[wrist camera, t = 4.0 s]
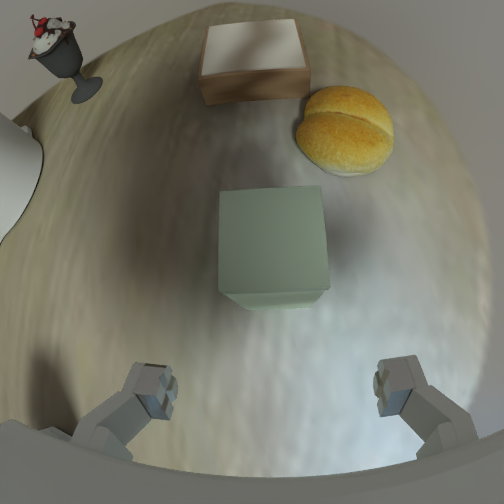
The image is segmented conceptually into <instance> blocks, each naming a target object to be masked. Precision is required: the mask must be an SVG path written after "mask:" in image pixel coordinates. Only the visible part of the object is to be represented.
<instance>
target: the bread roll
mask: <svg viewBox="0 0 504 504" xmlns="http://www.w3.org/2000/svg"><path fill="white" fill-rule="evenodd" d="M296 140H297V144H298V146H299V147H300V149H301V150H302V151H303V152H304V154H305V155H306V156H307V157H308V158H309V159H310V160H311V161H312V162H314V163H315V164H316V165H317V166H318V167H320V168H321V169H322V170H324V171H325V172H327V173H329V174H333V175H336V176H344V177H355V176H361V175H366V174H369V173H371V172H374V171H376V170H377V169H379V168H380V167H381V166H382V165H383V164H384V163H385V162H386V160H387V159H388V158H389V156H390V155H391V153H392V150H393V145H394V130H393V123H392V120H391V117H390V115H389V112H388V111H387V109H386V108H385V106H384V105H383V104H382V103H381V102H380V101H379V100H378V99H377V98H376V97H374V96H373V95H372V94H370V93H368V92H366V91H363V90H361V89H358V88H355V87H349V86H332V87H327V88H324V89H322V90H320V91H318V92H316V93H315V94H313V95H312V96H311V97H310V99H309V100H308V102H307V104H306V107H305V110H304V121H303V122H302V123H301V124H300V125H299V127H298V129H297V132H296Z"/></svg>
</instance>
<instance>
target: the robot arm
mask: <svg viewBox="0 0 504 504" xmlns="http://www.w3.org/2000/svg"><path fill="white" fill-rule="evenodd" d="M41 166H42V148H41V145H40V144H39V142H38V141H36V140H35V139H33V137H32V132H31V129H30V128H29V127H28V126H26V125H25V126H22V127H21V128H20V127H19V126H18V125H16V124H15V123H14V122H12V121H11V120H10V119H8V118H7V117H6V116H4V115H3V114H2V113H0V243H1V241H2V239H3V237H4V236H5V235H6V234H7V233H8V231H9V230H10V229H11V228H12V227H13V226H14V224H15V223H16V222H17V220H18V219H19V217H20V216H21V214H22V213H23V211H24V209H25V208H26V206H27V204H28V202H29V200H30V198H31V196H32V194H33V191H34V189H35V187H36V184H37V181H38V178H39V175H40V171H41ZM377 367H378V371H377V372H376V373H375V375H374V379H373V388H374V393H375V395H376V396H377V397H378V398H379V400H378V403H377V406H378V411H379V415H380V417H386V416H393V415H399V414H400V415H399V416H400V417H401V418H402V419H403V420H404V421H405V422H406V423H407V424H408V425H409V426H410V427H411V428H412V429H413V430H414V431H415V432H416V433H417V435H418V436H419V437H420V438H421V439H422V440H423V441H424V442H425V443H424V444H423V446H422V447H421V448H420V449H419V450H418V452H417V453H416V456H417V459H416V460H412V461H408V462H404V463H400V464H395V465H390V466H385V467H380V468H375V469H369V470H363V471H356V472H349V473H341V474H331V475H321V476H306V477H276V478H267V477H236V476H222V475H211V474H201V473H193V472H186V471H179V470H173V469H167V468H161V467H156V466H151V465H146V464H141V463H137V462H133V461H132V459H133V455H132V453H131V452H130V451H129V450H128V449H127V448H126V447H125V446H126V445H127V444H128V443H129V442H130V441H131V440H132V439H133V438H134V437H135V436H136V435H137V434H138V433H139V432H140V431H141V430H142V429H143V428H144V427H145V426H146V425H147V424H148V423H149V422H150V421H151V418H152V419H160V420H170V419H171V416H172V412H173V409H174V407H173V405H172V402H173V401H174V400H176V398H177V394H178V384H177V380H176V378H175V377H174V376H172V369H171V367H170V366H166V365H157V364H148V363H139V362H135V363H134V364H133V365H132V367H131V370H130V372H129V374H128V377H127V379H126V381H125V384H124V386H123V388H122V391H121V392H117V393H115V394H114V395H113V396H111V397H110V398H109V399H107V400H106V401H105V402H103V403H102V404H100V405H99V406H98V407H96V408H95V409H94V410H92V411H91V412H90V413H88V414H87V415H85V416H84V417H83V418H81V419H80V420H79V423H78V425H77V427H76V429H75V432H74V434H73V436H72V438H71V441H70V443H69V442H66V441H63V440H61V439H58V438H56V437H53V436H51V435H48V434H46V433H43V432H41V431H39V430H36V429H34V428H32V427H29V426H27V425H25V424H23V423H21V422H19V421H17V420H14V419H11V420H8V421H5V422H4V423H2V424H0V504H504V429H502V430H500V431H498V432H496V433H493V434H491V435H488V436H486V437H484V438H481V439H479V438H478V435H477V432H476V430H475V427H474V424H473V421H472V419H471V416H470V414H469V413H468V412H466V411H465V410H464V409H462V408H461V407H460V406H458V405H457V404H456V403H454V402H453V401H452V400H450V399H449V398H448V397H446V396H445V395H444V394H442V393H441V392H440V391H438V390H437V389H436V388H435V387H433V386H432V385H430V386H428V383H427V381H426V378H425V376H424V373H423V371H422V368H421V366H420V363H419V361H418V358H417V356H416V355H411V356H404V357H396V358H390V359H383V360H380V361H379V362H378V365H377Z"/></svg>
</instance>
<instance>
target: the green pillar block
mask: <svg viewBox="0 0 504 504" xmlns="http://www.w3.org/2000/svg"><path fill="white" fill-rule="evenodd" d="M329 288H330V277H329V264H328V252H327V241H326V231H325V222H324V212H323V204H322V195H321V187H320V186H297V187H277V188H260V189H245V190H231V191H220V194H219V238H218V292H219V293H221V294H225V295H226V296H227V297H229V298H230V299H232V300H233V301H234V302H236V303H237V304H239V305H240V306H241V307H243V308H244V309H246V310H271V309H294V308H311V307H312V306H313V305H314V303H315V302H316V301H317V300H318V299H319V297H320V296H321V295H322V294H323V292H324V291H325V290H328V289H329Z"/></svg>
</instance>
